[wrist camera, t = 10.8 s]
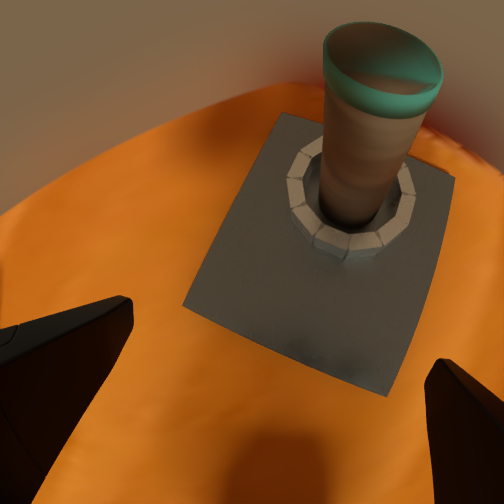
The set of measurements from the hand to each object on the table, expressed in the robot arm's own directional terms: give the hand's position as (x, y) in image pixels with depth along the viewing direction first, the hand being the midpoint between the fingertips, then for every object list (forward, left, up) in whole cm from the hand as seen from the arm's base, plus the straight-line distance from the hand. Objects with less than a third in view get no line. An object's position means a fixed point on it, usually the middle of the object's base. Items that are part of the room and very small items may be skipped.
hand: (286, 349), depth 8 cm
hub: (0, -7, -13) cm, 15 cm away
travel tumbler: (0, -10, -12) cm, 16 cm away
